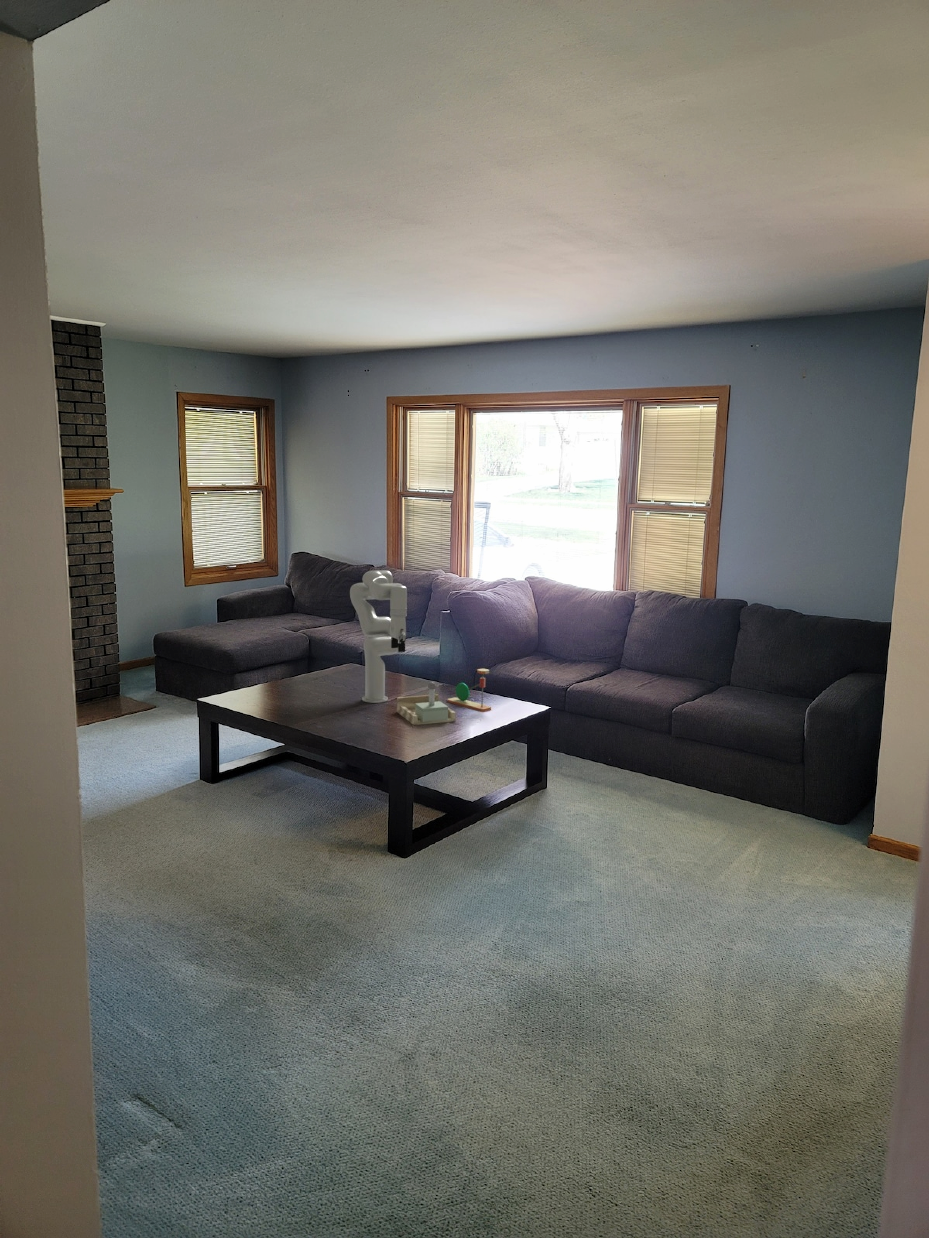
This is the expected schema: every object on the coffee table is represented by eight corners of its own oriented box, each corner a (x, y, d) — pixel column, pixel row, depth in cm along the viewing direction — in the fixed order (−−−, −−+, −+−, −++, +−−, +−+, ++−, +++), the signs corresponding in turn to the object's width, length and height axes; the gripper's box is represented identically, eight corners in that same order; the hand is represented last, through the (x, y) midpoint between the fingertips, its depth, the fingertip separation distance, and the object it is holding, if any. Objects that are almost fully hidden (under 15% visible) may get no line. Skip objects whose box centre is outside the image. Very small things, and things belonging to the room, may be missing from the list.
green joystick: (414, 716, 399) (415, 680, 397) (439, 713, 404) (440, 678, 401) (422, 722, 390) (423, 685, 387) (448, 719, 395) (448, 683, 392)
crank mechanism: (492, 709, 418) (493, 670, 415) (482, 712, 414) (483, 672, 411) (455, 699, 436) (456, 661, 433) (445, 701, 431) (446, 663, 428)
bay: (397, 712, 410) (397, 697, 409) (437, 708, 418) (437, 694, 417) (413, 725, 389) (414, 709, 388) (455, 721, 397) (455, 706, 396)
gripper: (384, 610, 405) (384, 646, 408) (396, 616, 390) (396, 653, 392) (400, 609, 408) (399, 645, 411) (412, 615, 393) (412, 652, 395)
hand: (398, 649), depth 402 cm, fingers open, 9 cm apart
